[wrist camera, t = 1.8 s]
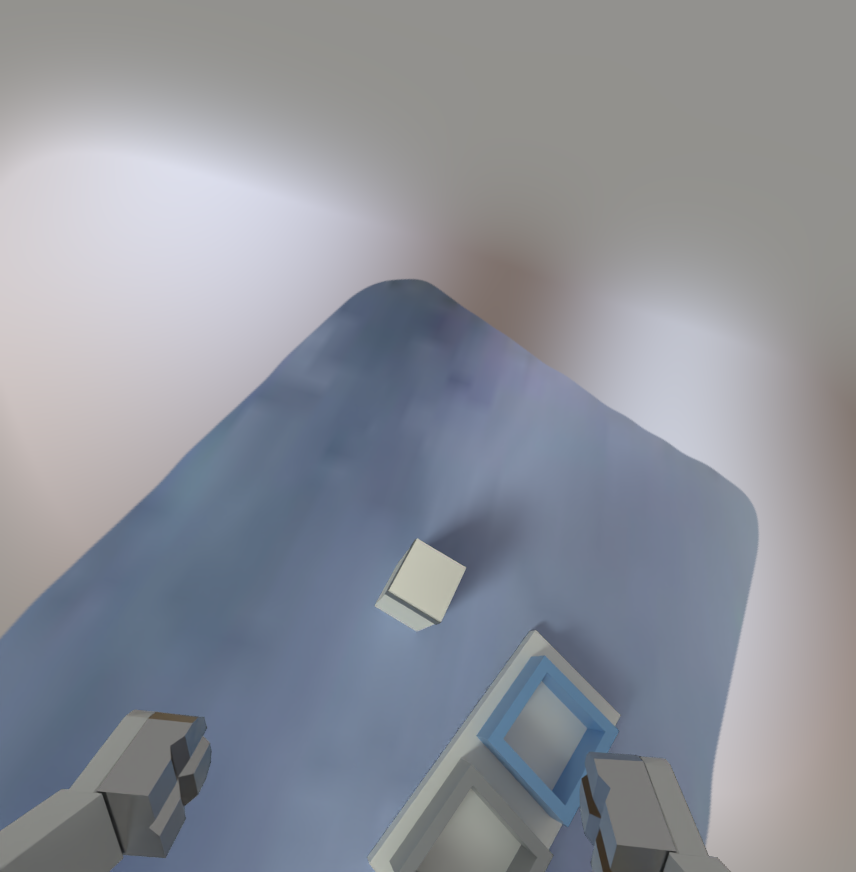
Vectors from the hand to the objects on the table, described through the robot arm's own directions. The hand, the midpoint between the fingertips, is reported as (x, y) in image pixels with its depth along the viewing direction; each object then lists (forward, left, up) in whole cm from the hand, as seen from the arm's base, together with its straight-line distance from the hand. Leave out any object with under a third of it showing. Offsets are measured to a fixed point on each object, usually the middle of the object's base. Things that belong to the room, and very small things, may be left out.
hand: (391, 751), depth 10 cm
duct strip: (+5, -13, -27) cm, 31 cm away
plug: (+9, +1, -28) cm, 29 cm away
